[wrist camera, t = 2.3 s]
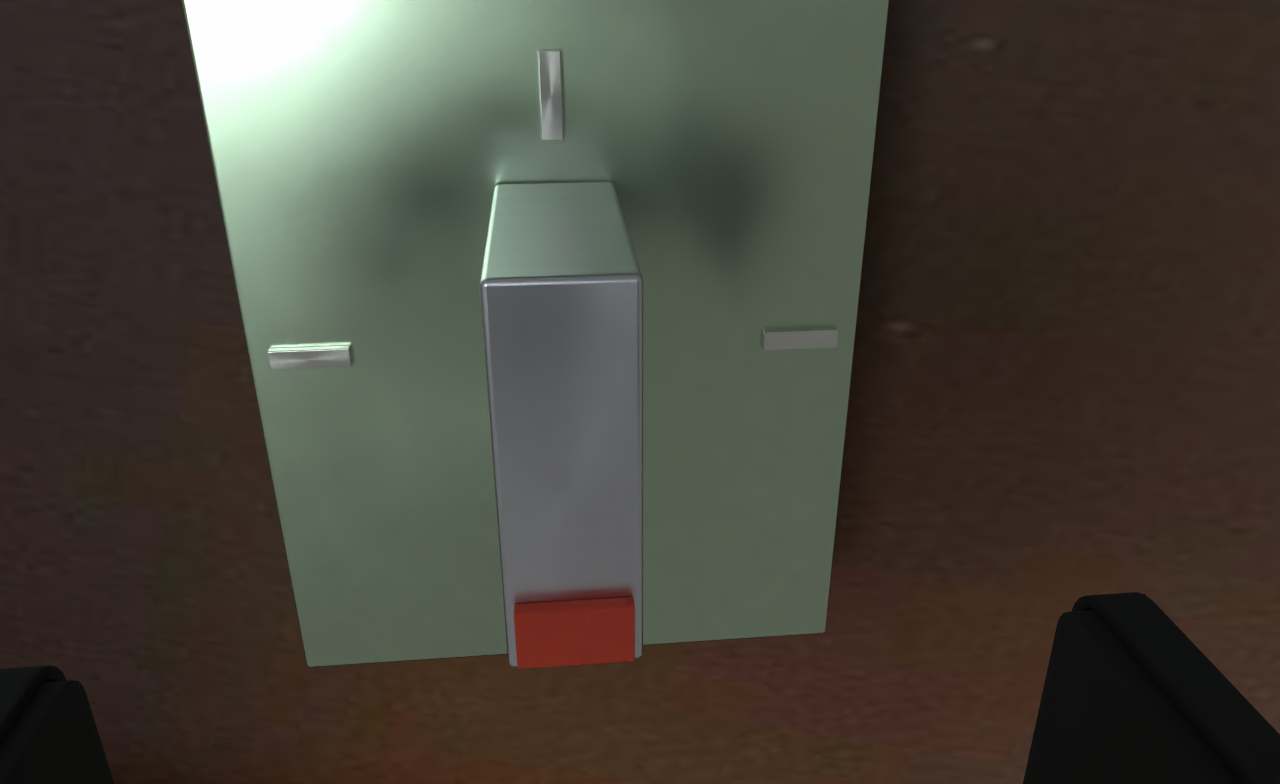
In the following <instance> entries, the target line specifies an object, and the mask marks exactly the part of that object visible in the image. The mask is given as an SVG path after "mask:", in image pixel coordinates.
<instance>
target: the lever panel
mask: <svg viewBox="0 0 1280 784" xmlns="http://www.w3.org/2000/svg"><path fill="white" fill-rule="evenodd" d="M181 1H182V6H183V12H184V17H185V22H186V27H187V33H188V38H189V43H190V49H191V54H192V59H193V64H194V70H195V75H196V80H197V86H198V91H199V96H200V102H201V107H202V112H203V117H204V123H205V128H206V133H207V139H208V144H209V149H210V155H211V160H212V165H213V170H214V176H215V181H216V186H217V192H218V197H219V202H220V208H221V213H222V218H223V223H224V229H225V234H226V239H227V245H228V250H229V255H230V261H231V266H232V271H233V276H234V282H235V287H236V292H237V298H238V303H239V308H240V313H241V319H242V324H243V329H244V335H245V340H246V345H247V351H248V356H249V361H250V366H251V372H252V377H253V382H254V388H255V393H256V398H257V404H258V409H259V414H260V419H261V425H262V430H263V435H264V441H265V446H266V451H267V457H268V462H269V467H270V472H271V478H272V483H273V488H274V494H275V499H276V504H277V510H278V515H279V520H280V525H281V531H282V536H283V541H284V547H285V552H286V557H287V562H288V568H289V573H290V578H291V584H292V589H293V594H294V600H295V605H296V610H297V615H298V621H299V626H300V631H301V637H302V642H303V647H304V653H305V658H306V663H307V666H308V667H322V666H337V665H352V664H367V663H382V662H397V661H412V660H427V659H442V658H457V657H473V656H488V655H503V654H507V642H506V629H505V615H504V602H503V589H502V575H501V562H500V549H499V536H498V522H497V509H496V496H495V483H494V469H493V456H492V443H491V430H490V416H489V403H488V390H487V377H486V363H485V350H484V337H483V324H482V310H481V297H480V279H481V273H482V266H483V260H484V253H485V247H486V240H487V234H488V227H489V221H490V214H491V208H492V201H493V195H494V189H495V186H497V185H502V184H543V183H585V182H610V183H613V185H614V188H615V191H616V194H617V197H618V201H619V204H620V207H621V210H622V213H623V217H624V220H625V223H626V226H627V229H628V233H629V236H630V239H631V242H632V245H633V248H634V252H635V255H636V258H637V261H638V264H639V268H640V271H641V274H642V277H643V645H654V644H669V643H684V642H699V641H714V640H729V639H744V638H759V637H774V636H789V635H804V634H819V633H825V630H826V621H827V612H828V602H829V592H830V582H831V572H832V562H833V552H834V542H835V533H836V523H837V513H838V503H839V493H840V483H841V473H842V463H843V454H844V444H845V434H846V424H847V414H848V404H849V394H850V384H851V374H852V365H853V355H854V345H855V335H856V325H857V315H858V305H859V295H860V286H861V276H862V266H863V256H864V246H865V236H866V226H867V216H868V207H869V197H870V187H871V177H872V167H873V157H874V147H875V137H876V127H877V118H878V108H879V98H880V88H881V78H882V68H883V58H884V48H885V39H886V29H887V19H888V9H889V0H181Z"/></svg>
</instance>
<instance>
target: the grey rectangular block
mask: <svg viewBox="0 0 1280 784" xmlns="http://www.w3.org/2000/svg"><path fill="white" fill-rule="evenodd" d="M480 297H481V310H482V324H483V337H484V350H485V363H486V377H487V390H488V403H489V416H490V430H491V443H492V456H493V469H494V483H495V496H496V509H497V522H498V536H499V549H500V562H501V575H502V589H503V602H504V615H505V629H506V642H507V655H508V662H509V664H510V666H513V667H518V669H525V668H540V667H555V666H570V665H584V664H599V663H614V662H629V661H634V660H635V659H638V658H640V657H641V656H642V653H643V277H642V274H641V271H640V268H639V264H638V261H637V258H636V255H635V252H634V248H633V245H632V242H631V239H630V236H629V233H628V229H627V226H626V223H625V220H624V217H623V213H622V210H621V207H620V204H619V201H618V197H617V194H616V191H615V188H614V185H613V183H610V182H585V183H543V184H502V185H497V186H495V189H494V195H493V201H492V208H491V214H490V221H489V227H488V234H487V240H486V247H485V253H484V260H483V266H482V273H481V279H480Z"/></svg>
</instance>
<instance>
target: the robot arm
mask: <svg viewBox="0 0 1280 784" xmlns="http://www.w3.org/2000/svg"><path fill="white" fill-rule="evenodd" d="M0 784H114V782H113V779H112V776H111V772H110V769H109V766H108V763H107V760H106V756H105V753H104V750H103V747H102V743H101V740H100V737H99V734H98V730H97V727H96V724H95V721H94V718H93V714H92V711H91V708H90V705H89V701H88V698H87V695H86V692H85V690H84V688H83V686H82V685H81V684H80V683H79V682H78V681H73V680H71V681H66V678H65V676H64V674H63V672H62V671H60V670H59V669H58V668H57V667H54V666H37V667H23V668H8V669H0ZM1023 784H1280V734H1279V733H1278V732H1277V731H1276V730H1275V729H1274V728H1273V727H1272V726H1271V725H1270V724H1269V723H1268V722H1267V721H1266V720H1265V719H1264V718H1263V717H1262V715H1261V714H1260V713H1259V712H1258V711H1257V710H1256V709H1255V708H1254V707H1253V706H1252V705H1251V704H1250V703H1249V702H1248V701H1247V700H1246V699H1245V698H1244V696H1243V695H1242V694H1241V693H1240V692H1239V691H1238V690H1237V689H1236V688H1235V687H1234V686H1233V685H1232V684H1231V683H1230V682H1229V681H1228V680H1227V679H1226V678H1225V676H1224V675H1223V674H1222V673H1221V672H1220V671H1219V670H1218V669H1217V668H1216V667H1215V666H1214V665H1213V664H1212V663H1211V662H1210V661H1209V660H1208V659H1207V657H1206V656H1205V655H1204V654H1203V653H1202V652H1201V651H1200V650H1199V649H1198V648H1197V647H1196V646H1195V645H1194V644H1193V643H1192V642H1191V641H1190V640H1189V639H1188V637H1187V636H1186V635H1185V634H1184V633H1183V632H1182V631H1181V630H1180V629H1179V628H1178V627H1177V626H1176V625H1175V624H1174V623H1173V622H1172V621H1171V620H1170V618H1169V617H1168V616H1167V615H1166V614H1165V613H1164V612H1163V611H1162V610H1161V609H1160V608H1159V607H1158V606H1157V605H1156V604H1155V603H1154V602H1153V601H1152V600H1151V599H1150V598H1148V597H1147V596H1146V595H1145V594H1141V593H1137V592H1134V593H1119V594H1104V595H1090V596H1084V597H1080V598H1079V599H1078V600H1077V601H1076V603H1075V604H1074V606H1073V609H1072V612H1066V613H1063V614H1062V616H1061V617H1060V618H1059V621H1058V624H1057V628H1056V633H1055V637H1054V642H1053V647H1052V651H1051V656H1050V661H1049V665H1048V670H1047V675H1046V679H1045V684H1044V689H1043V693H1042V698H1041V703H1040V707H1039V712H1038V717H1037V721H1036V726H1035V730H1034V735H1033V740H1032V744H1031V749H1030V754H1029V758H1028V763H1027V768H1026V772H1025V777H1024V782H1023Z"/></svg>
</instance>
